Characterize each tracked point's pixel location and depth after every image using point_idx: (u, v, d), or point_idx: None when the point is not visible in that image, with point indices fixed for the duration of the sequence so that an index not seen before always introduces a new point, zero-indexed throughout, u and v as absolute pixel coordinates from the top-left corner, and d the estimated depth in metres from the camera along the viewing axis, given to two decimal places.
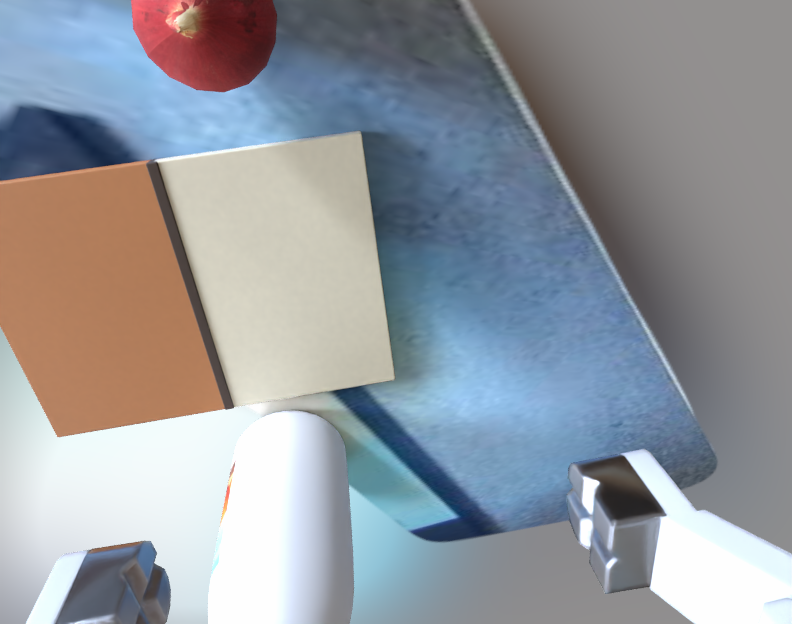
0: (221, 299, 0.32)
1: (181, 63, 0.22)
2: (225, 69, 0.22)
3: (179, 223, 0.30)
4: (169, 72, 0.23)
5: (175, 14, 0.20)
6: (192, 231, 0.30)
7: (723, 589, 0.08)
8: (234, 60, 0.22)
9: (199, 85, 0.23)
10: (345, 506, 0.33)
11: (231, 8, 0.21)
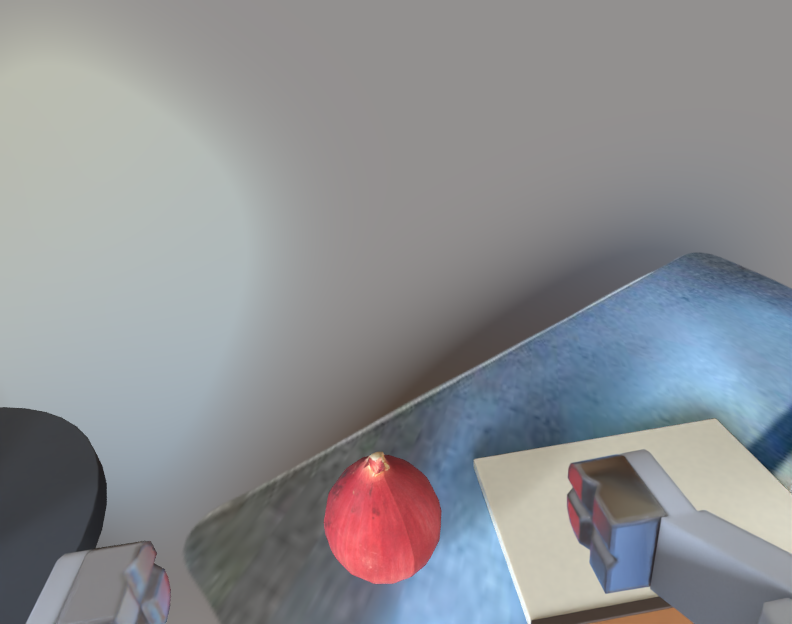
0: None
1: (411, 492, 0.26)
2: (415, 470, 0.27)
3: (600, 604, 0.25)
4: (421, 519, 0.25)
5: (371, 462, 0.25)
6: None
7: (723, 589, 0.08)
8: (408, 463, 0.28)
9: (431, 501, 0.26)
10: None
11: None
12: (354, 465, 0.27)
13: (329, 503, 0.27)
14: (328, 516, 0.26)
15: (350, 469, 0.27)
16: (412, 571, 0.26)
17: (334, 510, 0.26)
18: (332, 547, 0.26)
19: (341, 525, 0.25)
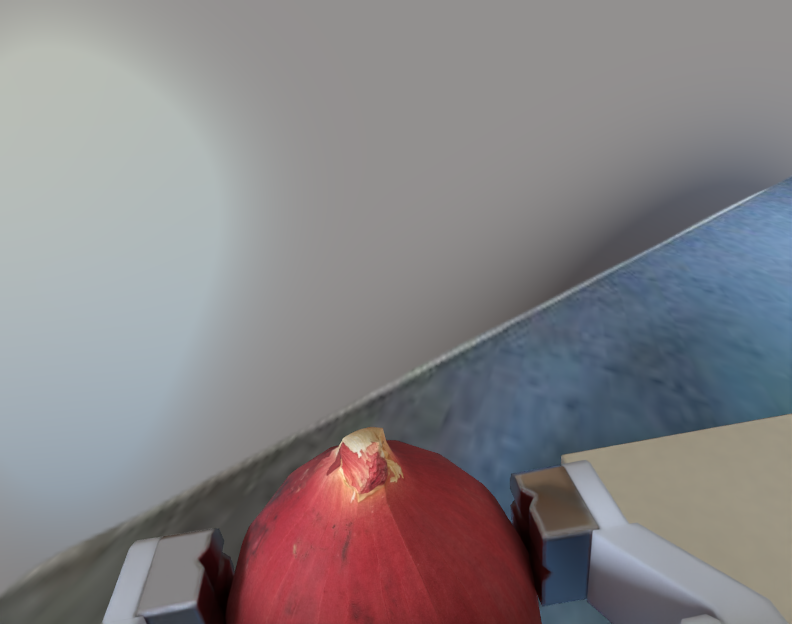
0: None
1: (466, 545, 0.09)
2: (470, 480, 0.10)
3: None
4: None
5: (348, 458, 0.08)
6: None
7: (651, 604, 0.08)
8: (449, 462, 0.10)
9: (521, 568, 0.09)
10: None
11: None
12: (304, 468, 0.10)
13: (237, 573, 0.10)
14: (231, 614, 0.09)
15: (294, 478, 0.10)
16: None
17: (243, 598, 0.09)
18: None
19: None
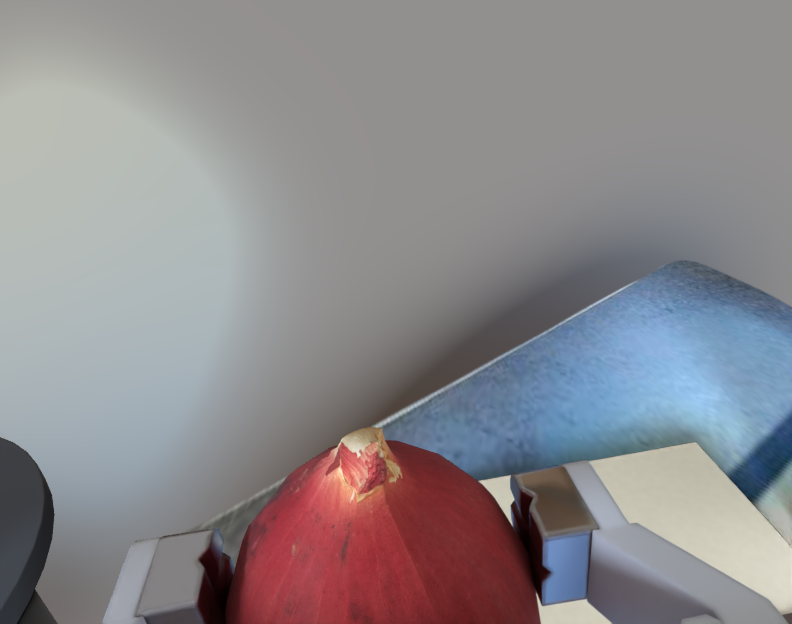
0: None
1: (466, 545, 0.09)
2: (469, 480, 0.10)
3: None
4: None
5: (347, 457, 0.08)
6: None
7: (651, 604, 0.08)
8: (449, 462, 0.10)
9: (521, 568, 0.09)
10: None
11: None
12: (303, 468, 0.10)
13: (236, 573, 0.10)
14: (231, 614, 0.09)
15: (293, 478, 0.10)
16: None
17: (242, 598, 0.09)
18: None
19: None
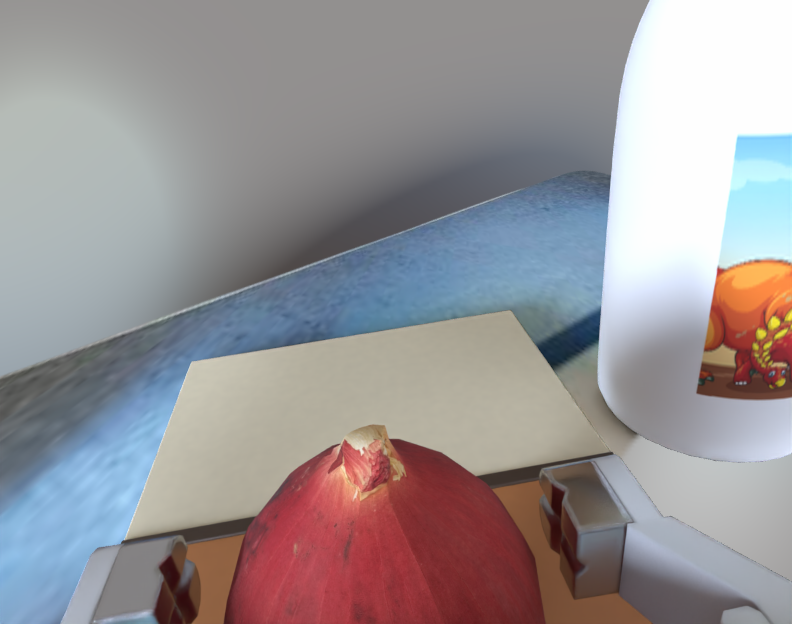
0: None
1: (471, 545, 0.08)
2: (474, 479, 0.10)
3: (231, 517, 0.18)
4: None
5: (349, 454, 0.08)
6: (250, 502, 0.18)
7: (687, 596, 0.08)
8: (452, 461, 0.10)
9: (526, 569, 0.09)
10: None
11: None
12: (305, 466, 0.10)
13: (237, 573, 0.10)
14: (231, 615, 0.09)
15: (295, 477, 0.10)
16: None
17: (243, 598, 0.09)
18: None
19: None
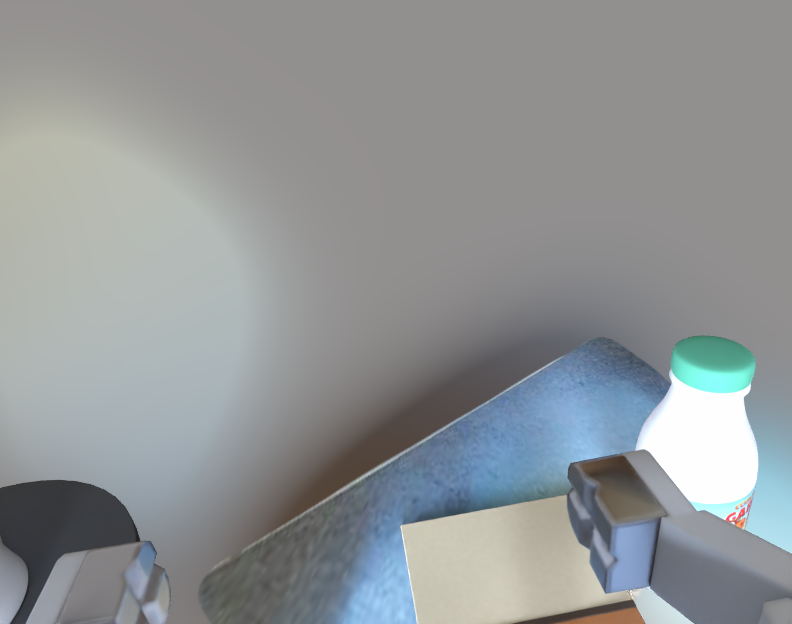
0: (525, 605, 0.41)
1: None
2: None
3: None
4: None
5: None
6: (471, 622, 0.41)
7: (723, 589, 0.08)
8: None
9: None
10: None
11: None
12: None
13: None
14: None
15: None
16: None
17: None
18: None
19: None
